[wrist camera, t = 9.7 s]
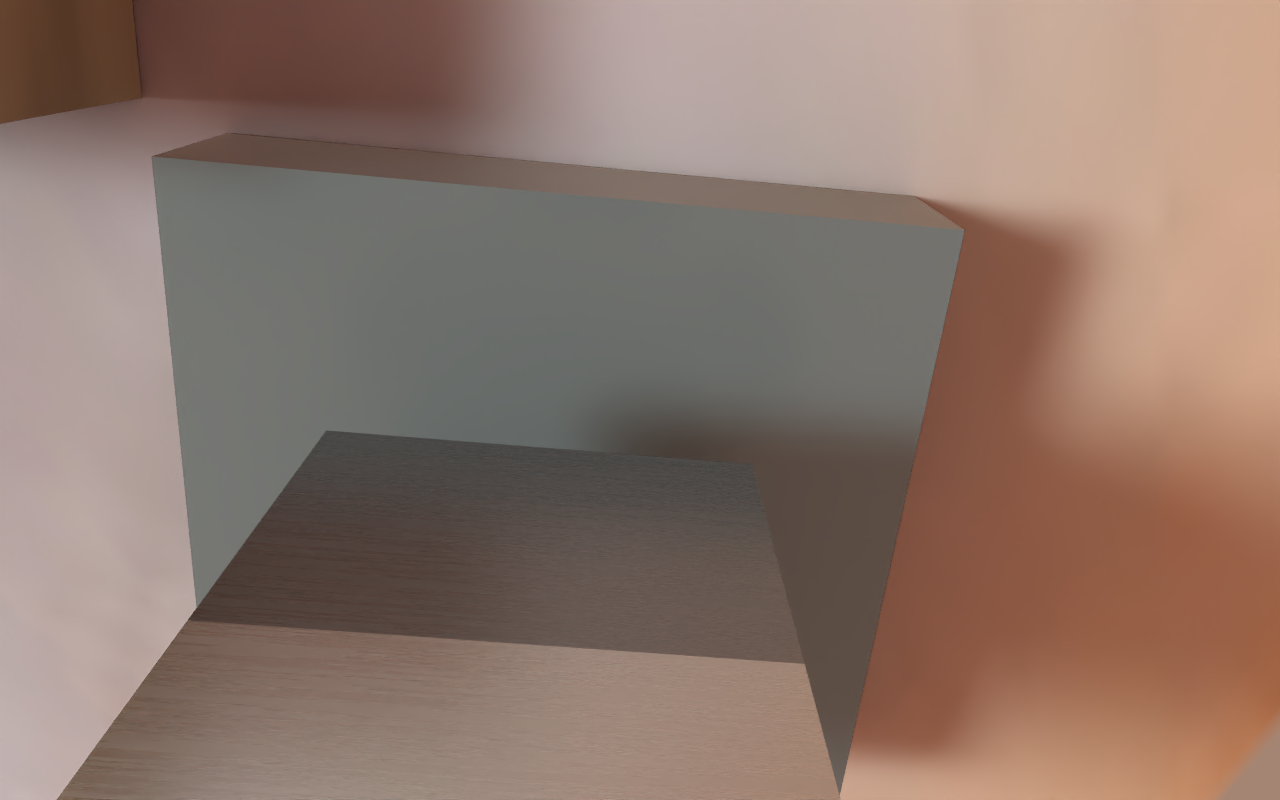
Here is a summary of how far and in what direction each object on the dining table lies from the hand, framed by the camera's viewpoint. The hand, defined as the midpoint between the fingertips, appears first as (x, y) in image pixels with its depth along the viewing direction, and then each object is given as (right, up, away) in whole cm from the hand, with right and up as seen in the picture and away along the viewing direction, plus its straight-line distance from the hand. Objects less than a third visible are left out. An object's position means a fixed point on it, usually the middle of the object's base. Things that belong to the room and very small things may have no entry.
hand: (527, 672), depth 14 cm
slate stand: (0, +3, +6) cm, 7 cm away
